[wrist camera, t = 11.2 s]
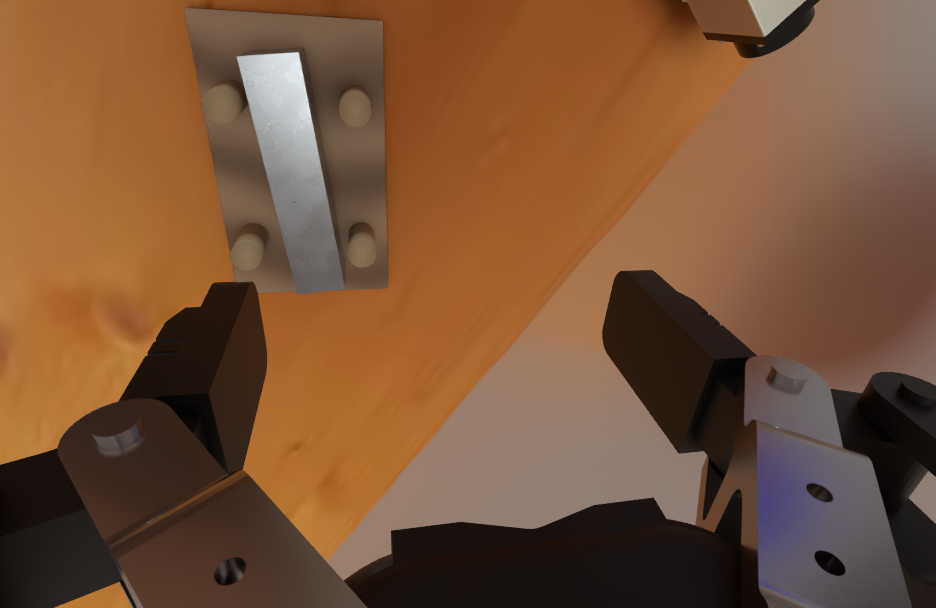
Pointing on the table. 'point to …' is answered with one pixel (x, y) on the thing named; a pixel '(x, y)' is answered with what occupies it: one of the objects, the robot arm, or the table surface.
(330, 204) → the bar
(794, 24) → the pneumatic valve
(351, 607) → the robot arm
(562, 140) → the table surface
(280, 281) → the cradle
